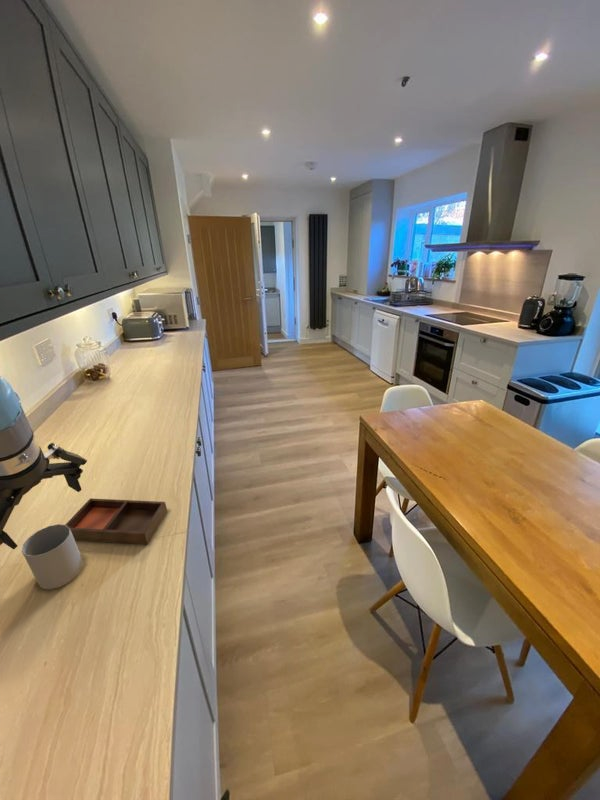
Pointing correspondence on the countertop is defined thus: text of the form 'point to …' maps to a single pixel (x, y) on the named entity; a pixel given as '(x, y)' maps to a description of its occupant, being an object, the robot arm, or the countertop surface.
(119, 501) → the tray
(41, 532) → the cup
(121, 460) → the countertop surface
